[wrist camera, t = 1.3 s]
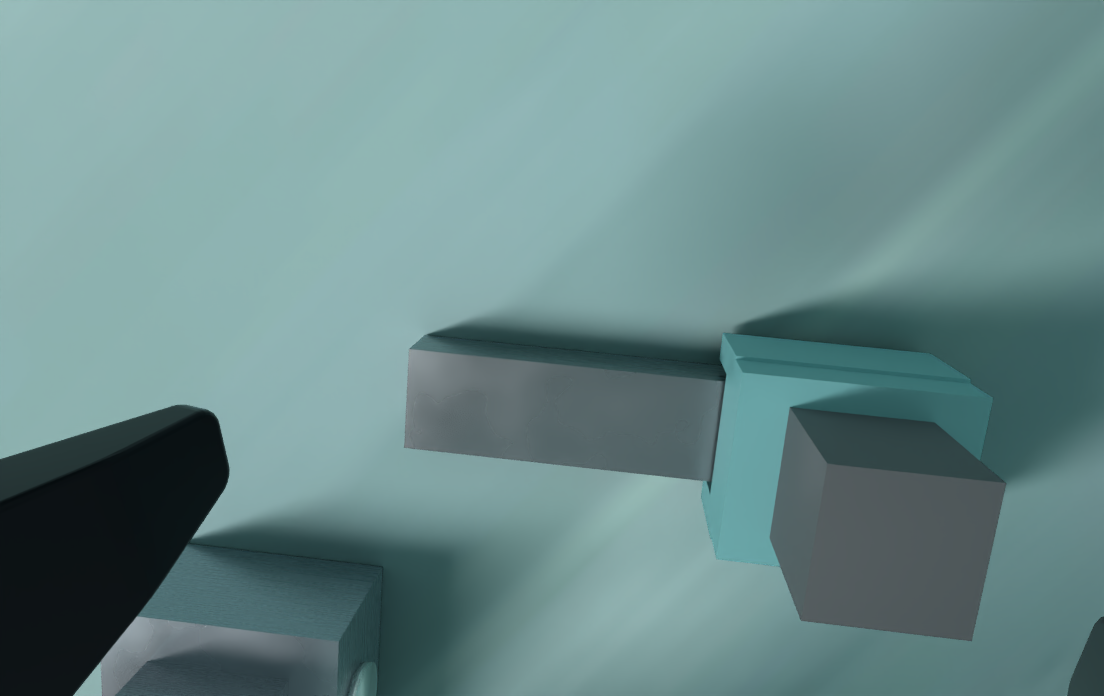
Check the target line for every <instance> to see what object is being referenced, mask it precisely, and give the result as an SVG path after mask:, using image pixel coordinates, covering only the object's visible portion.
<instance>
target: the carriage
mask: <svg viewBox="0 0 1104 696" xmlns="http://www.w3.org/2000/svg"><path fill="white" fill-rule="evenodd" d="M720 361H721V363H722V365H723V367H724V370H725V372H726V382H725V389H724V396H723V404H722V411H721V419H720V426H719V433H718V441H717V448H716V455H715V463H714V470H713V477H712V482H710V481H703V486H702V494H701V499H702V503H703V508H704V512H705V516H706V521H707V525H708V530H709V534H710V538H711V539H712V542H713V546H714V550H715V555H716V559H719V560H728V561H736V562H745V563H753V564H762V565H771V566H779V567H781V570H782V572H783V575H784V577H785V580H786V583H787V585H788V588H789V591H790V593H791V596H792V598H793V601H794V604H795V606H796V609H797V611H798V614H799V617H800V619H801V621H808V622H816V623H825V624H833V625H841V626H850V627H858V628H866V629H875V630H883V631H891V632H900V633H908V634H917V635H925V636H933V637H942V638H950V639H958V640H967V641H972V637H973V633H974V628H975V624H976V619H977V614H978V610H979V605H980V601H981V596H982V592H983V587H984V582H985V578H986V573H987V569H988V564H989V559H990V555H991V550H992V546H993V541H994V537H995V532H996V527H997V523H998V518H999V514H1000V509H1001V505H1002V500H1003V495H1004V491H1005V486H1006V483H1005V482H1004V481H1003V480H1002V479H1001V478H999V477H998V476H997V475H996V474H995V473H994V472H992V471H991V470H990V469H989V468H988V467H987V466H985V465H984V464H983V463H982V462H981V461H980V460H981V455H982V450H983V445H984V441H985V436H986V431H987V426H988V422H989V417H990V412H991V407H992V403H993V398H992V397H991V396H989V395H988V394H986V393H985V392H983V391H982V390H980V389H978V388H977V387H975V386H974V385H972V384H971V379H970V378H968V377H966V376H965V375H963V374H962V373H960V372H959V371H957V370H955V369H954V368H952V367H951V366H949V365H948V364H946V363H945V362H943V361H941V360H940V359H938V358H937V357H935V356H934V355H932V354H930V353H921V352H911V351H901V350H891V349H881V348H871V347H861V346H850V345H840V344H830V343H820V342H810V341H800V340H790V339H780V338H770V337H760V336H750V335H740V334H730V333H723V336H722V344H721V351H720Z"/></svg>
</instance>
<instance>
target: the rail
mask: <svg viewBox="0 0 1104 696" xmlns="http://www.w3.org/2000/svg"><path fill="white" fill-rule="evenodd" d="M725 382H726V372H725V370H724V367H723V365H713V364H704V363H694V362H684V361H674V360H664V359H655V358H645V357H635V356H625V355H615V354H606V353H596V352H586V351H576V350H566V349H557V348H547V347H537V346H527V345H517V344H508V343H498V342H488V341H478V340H468V339H459V338H449V337H439V336H429V335H424V336H423V337H422V338H421V339H420V340H419V341H418V342H417V343H415V344H414V345H413V346H412V347H411V348H410V349H409V361H408V382H407V402H406V422H405V443H404V448H411V449H420V450H429V451H438V452H447V453H456V454H466V455H475V456H484V457H493V458H502V459H511V460H520V461H529V462H538V463H547V464H556V465H565V466H574V467H583V468H592V469H601V470H610V471H619V472H628V473H637V474H647V475H656V476H665V477H674V478H683V479H692V480H701V481H710V482H712V477H713V470H714V463H715V455H716V448H717V441H718V433H719V426H720V419H721V411H722V404H723V396H724V389H725Z"/></svg>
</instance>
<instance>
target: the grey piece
mask: <svg viewBox="0 0 1104 696" xmlns="http://www.w3.org/2000/svg"><path fill="white" fill-rule="evenodd" d="M382 572H383V567H380V566H371V565H363V564H355V563H346V562H338V561H329V560H321V559H313V558H304V557H296V556H288V555H279V554H271V553H262V552H254V551H246V550H237V549H229V548H221V547H212V546H204V545H195V544H188V545H187V546H186V548H185V549H184V551H183V552H182V554H181V555H180V557H179V558H178V560H177V561H176V563H175V564H174V566H173V567H172V569H171V570H170V572H169V573H168V575H167V576H166V578H165V579H164V581H163V582H162V584H161V585H160V587H159V588H158V589H157V591H156V592H155V594H154V595H153V596H152V598H151V599H150V600H149V602H148V603H147V604H146V606H145V607H144V608H143V609H142V611H141V612H140V613H139V615H138V616H137V617H136V618H135V620H134V621H133V622H132V623H131V624H130V626H129V627H128V628H127V629H126V631H125V632H124V633H123V634H122V636H121V637H120V638H119V639H118V641H117V642H116V643H115V644H114V645H113V647H112V648H111V649H110V650H109V652H108V653H107V654H106V655H105V657H104V658H103V659H102V660H101V679H102V696H377V684H378V662H379V639H380V617H381V595H382Z"/></svg>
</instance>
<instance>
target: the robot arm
mask: <svg viewBox="0 0 1104 696" xmlns="http://www.w3.org/2000/svg"><path fill="white" fill-rule="evenodd" d="M228 478H229V464H228V459H227V455H226V451H225V446H224V442H223V438H222V433H221V429H220V425H219V421H218V419H217V417H216V416H215V415H214V413H212V412H211V411H209V410H206V409H202V408H198V407H193V406H189V405H175V406H171V407H168V408H165V409H162V410H158V411H155V412H152V413H149V414H145V415H142V416H139V417H136V418H132V419H129V420H126V421H123V422H119V423H116V424H113V425H110V426H106V427H103V428H100V429H97V430H94V431H90V432H87V433H84V434H81V435H77V436H74V437H71V438H68V439H64V440H61V441H58V442H55V443H51V444H48V445H45V446H42V447H38V448H35V449H32V450H29V451H25V452H22V453H19V454H16V455H12V456H9V457H6V458H3V459H0V696H73V695H74V694H75V692H76V691H77V690H78V689H79V688H80V686H81V685H82V684H83V683H84V681H85V680H86V679H87V678H88V676H89V675H90V674H91V673H92V671H93V670H94V669H95V668H96V667H97V665H98V664H99V663H100V662H101V660H102V659H103V658H104V657H105V655H106V654H107V653H108V652H109V650H110V649H111V648H112V647H113V645H114V644H115V643H116V642H117V641H118V639H119V638H120V637H121V636H122V634H123V633H124V632H125V631H126V629H127V628H128V627H129V626H130V624H131V623H132V622H133V621H134V620H135V618H136V617H137V616H138V615H139V613H140V612H141V611H142V609H143V608H144V607H145V606H146V604H147V603H148V602H149V600H150V599H151V598H152V596H153V595H154V594H155V592H156V591H157V589H158V588H159V587H160V585H161V584H162V582H163V581H164V579H165V578H166V576H167V575H168V573H169V572H170V570H171V569H172V567H173V566H174V564H175V563H176V561H177V560H178V558H179V557H180V555H181V554H182V552H183V551H184V549H185V548H186V546H187V545H188V543H189V542H190V540H191V539H192V537H193V536H194V534H195V533H196V531H197V530H198V528H199V527H200V525H201V524H202V522H203V521H204V519H205V518H206V516H207V515H208V513H209V512H210V510H211V509H212V507H213V506H214V504H215V503H216V501H217V500H218V498H219V497H220V495H221V494H222V492H223V491H224V489H225V487H226V485H227V482H228ZM1067 696H1104V617H1101V618H1100V619H1099V620H1098V621H1097V622H1096V623H1095V625H1094V627H1093V629H1092V631H1091V634H1090V636H1089V638H1088V641H1087V643H1086V645H1085V647H1084V650H1083V652H1082V654H1081V657H1080V659H1079V661H1078V664H1077V666H1076V668H1075V671H1074V673H1073V675H1072V678H1071V681H1070V684H1069V688H1068V695H1067Z"/></svg>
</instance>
